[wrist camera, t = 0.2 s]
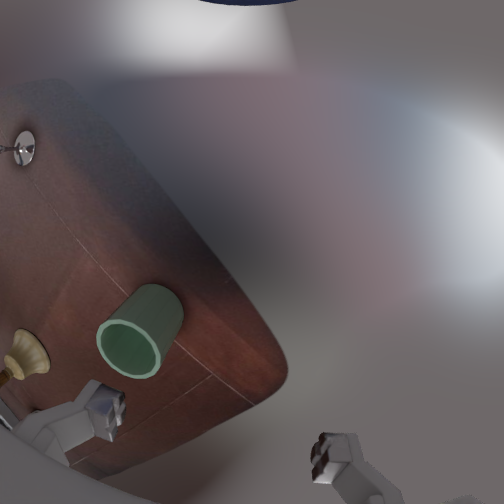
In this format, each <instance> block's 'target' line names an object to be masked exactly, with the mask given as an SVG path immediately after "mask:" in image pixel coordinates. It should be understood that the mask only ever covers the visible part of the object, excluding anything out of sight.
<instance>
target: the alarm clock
mask: <svg viewBox="0 0 504 504" xmlns="http://www.w3.org/2000/svg"><path fill="white" fill-rule="evenodd" d="M19 422H20V421H19V420H18V419H17V418H16V416H15V415H14V414H13V413H12V412H11V411H10V409H9V408H8V407H7V406H6V405H5V403H4V402H3V401H2V400H1V398H0V424H1V425H2V426H4V427H5V428H6V429H8V430H9V431H11V430H12V429H13V428H14V427H15V426H16V424H17V423H19Z"/></svg>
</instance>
